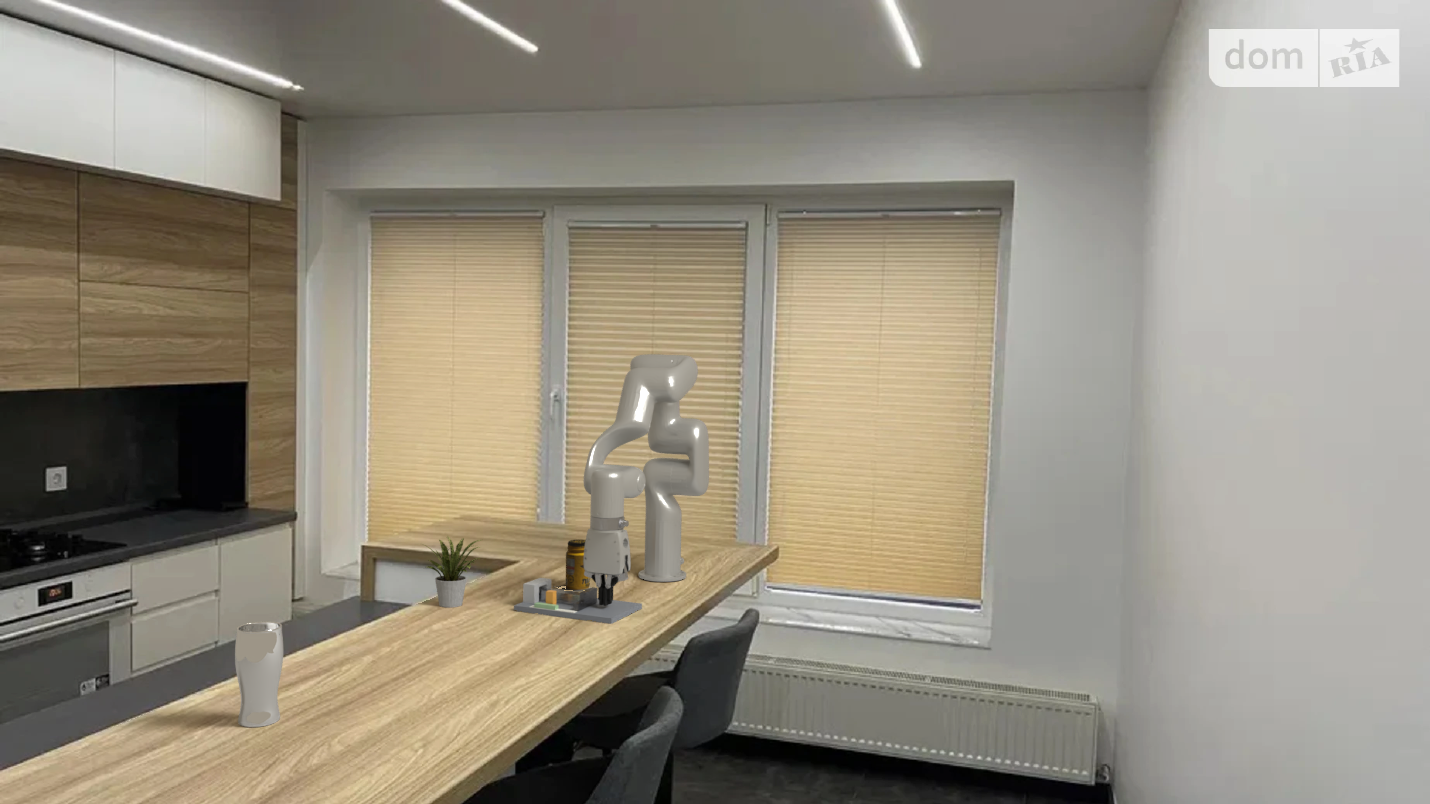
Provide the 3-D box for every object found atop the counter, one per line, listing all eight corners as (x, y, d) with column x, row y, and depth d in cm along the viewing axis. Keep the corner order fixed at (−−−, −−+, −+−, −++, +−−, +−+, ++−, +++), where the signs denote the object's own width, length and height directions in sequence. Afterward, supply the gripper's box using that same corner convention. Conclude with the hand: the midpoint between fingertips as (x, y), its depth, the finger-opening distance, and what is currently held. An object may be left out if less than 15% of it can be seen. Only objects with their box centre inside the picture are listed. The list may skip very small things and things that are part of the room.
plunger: (540, 595, 244) (540, 581, 244) (596, 602, 238) (597, 587, 238) (520, 603, 236) (520, 588, 236) (578, 611, 230) (578, 595, 230)
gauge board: (548, 596, 249) (548, 574, 248) (641, 608, 239) (642, 585, 239) (513, 610, 235) (514, 587, 234) (611, 623, 225) (611, 599, 225)
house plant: (500, 602, 242) (501, 533, 241) (462, 615, 230) (463, 542, 229) (451, 595, 248) (452, 527, 247) (411, 607, 236) (412, 536, 235)
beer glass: (244, 713, 166) (244, 620, 165) (289, 712, 167) (289, 620, 166) (227, 728, 159) (227, 632, 158) (274, 728, 160) (274, 632, 159)
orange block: (549, 605, 235) (549, 589, 235) (556, 606, 235) (556, 590, 234) (545, 606, 234) (545, 591, 234) (552, 607, 233) (552, 592, 233)
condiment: (596, 589, 257) (596, 542, 257) (564, 593, 253) (565, 545, 252) (582, 584, 263) (583, 537, 263) (552, 587, 259) (553, 540, 258)
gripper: (644, 524, 234) (642, 604, 235) (586, 518, 240) (584, 597, 240) (629, 529, 227) (627, 611, 228) (569, 523, 233) (568, 604, 234)
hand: (605, 604), depth 234 cm, fingers closed
